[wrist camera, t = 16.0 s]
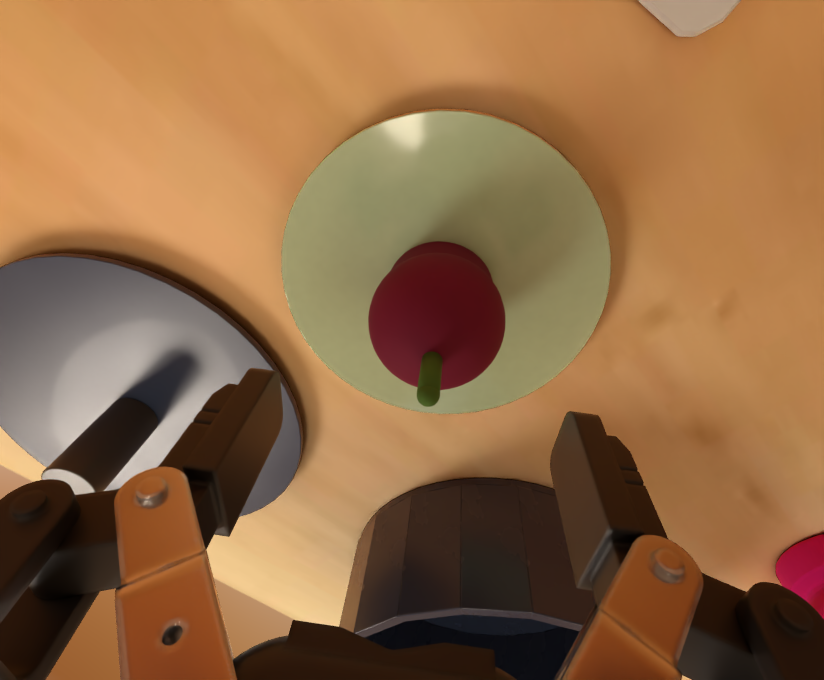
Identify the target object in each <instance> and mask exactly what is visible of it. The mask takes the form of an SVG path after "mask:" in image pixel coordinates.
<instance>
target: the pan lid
mask: <svg viewBox="0 0 824 680" xmlns="http://www.w3.org/2000/svg"><path fill="white" fill-rule="evenodd" d="M250 368H257V369H265V370H272V371H278V372H279V374H280V381H281V393H282V405H283V421H282V426H281V430H280V433H279V435H278V437H277V439H276V441H275V443H274V445H273V447H272V449H271V452H270V454H269V456H268V458H267V460H266V462H265V464H264V466H263V468H262V470H261V472H260V474H259V476H258V478H257V480H256V483H255V485H254V487H253V489H252V491H251V493H250V495H249V497H248V499H247V501H246V503H245V505H244V507H243V509H242V511H241V514H240V516H243V515H247V514H250V513H252V512H254V511H257V510H259V509H261V508H263V507H265V506H266V505H268V504H269V503H271V502H272V501H274V500H275V499H276V498H277V497H278V496H279V495H280V494H281V493H283V492H284V491H285V489H286V488H287V486H288V485H289V484H290V482H291V481H292V479H293V477H294V475H295V473H296V470H297V468H298V466H299V463H300V459H301V454H302V450H303V431H302V424H301V418H300V414H299V411H298V408H297V405H296V401H295V399H294V397H293V395H292V393H291V390H290V388H289V386H288V384H287V382H286V380H285V379H284V377H283V376H282V374H281V373H280V371H279V369H278V368H277V366H276V365H275V363H274V362H273V361H272V360H271V358H270V357H269V356H268V355H267V353H266V352H265V351H264V350H263V348H262V347H261V346H260V345H259V344H258V343H257V342H256V341H255V340H254V339H253V338H252V337H251V336H250V335H249V334H248V333H247V332H246V331H245V330H244V329H243V328H242V327H241V326H240V325H239V324H238V323H236V322H235V321H234V320H233V319H231V318H230V317H229V316H228V315H226V314H225V313H224V312H223V311H222V310H220V309H219V308H217V307H216V306H215V305H213V304H212V303H210V302H209V301H207V300H206V299H204V298H203V297H201V296H200V295H198V294H197V293H195V292H193V291H191V290H189V289H187V288H185V287H184V286H182V285H180V284H178V283H176V282H174V281H173V280H171V279H168V278H166V277H164V276H161V275H159V274H156V273H154V272H152V271H149V270H147V269H145V268H141V267H138V266H135V265H132V264H128V263H125V262H122V261H119V260H115V259H109V258H104V257H99V256H94V255H85V254H71V253H57V254H42V255H36V256H32V257H28V258H23V259H19V260H17V261H14V262H12V263H10V264H7V265H5V266H3V267H0V427H1V428H2V429H3V430H4V431H5V432H6V433H7V434H8V435H9V436H10V437H11V438H12V439H13V440H14V441H15V442H16V443H17V444H18V445H19V446H20V447H22V448H23V449H24V450H25V451H26V452H27V453H28V454H30V455H31V456H32V457H33V458H35V459H36V460H37V461H39V462H40V463H41V464H42V465H44V466H45V467H47V468H46V469H45V470H44V471H43V473H42V476H41V477H42V480H47V479H56V480H62V481H64V482H66V483H68V484H69V485H70V486H71V488H72V490H73V492H74V494H75V495H78V494H86V493H93V492H101V491H109V490H115V489H120V488H121V487H122V486H123V484H124V483H125V482H127V481H128V480H129V479H130V478H132V477H133V476H135V475H136V474H139V473H141V472H143V471H145V470H148V469H152V468H156V467H158V466H159V465H160V464H161V462H162V461H163V460H164V458H165V457H166V456H167V454H168V453H169V452H170V450H171V449H172V448H173V446H174V445H175V444H176V442H177V441H178V440H179V438H180V437H181V435H182V434H183V433H184V431H185V430H186V429H187V427H188V426H189V425H190V423H191V422H192V423H193V419H194V418H195V417H196V415H197V414H198V413H199V411H201V410H202V407H203V406H204V404H205V403H206V402H207V400H208V399H209V398H210V396H211V395H212V394H213V393H215V392H216V391H218V390H219V389H221V388H222V387H224V386H225V385H227V384H228V383H230V384H237V385H238V384H239V382H240V381H241V379H242V378H243V376H244V375H245V374H246V372H247V371H248V370H249V369H250ZM240 516H239V517H240Z"/></svg>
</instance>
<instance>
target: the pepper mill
mask: <svg viewBox="0 0 824 680" xmlns="http://www.w3.org/2000/svg"><path fill="white" fill-rule="evenodd" d="M776 576H777V577H778V579H779V581H780V583H781V584H782V586H783V587H785V588H787V589H789V590H791V591H793V592H794V593H796V594H797V595H799V596H800V597H802V598H803V599H804V600H806V601H807V602H808V603H809V604H810V605H811V606H812V607H813V608H814V609H815V610H816V611H817V612H818V613H819V614H820V615H821V616H822V618H823V619H824V534H822V535H818V536H815V537H812V538H809V539H806V540H804V541H802V542H799V543H798V544H796V545H794V546H792V547H790V548H789V549H788V550H786V551H785V552H784V553H783V554H782V555H781V557H780V558H779V560H778V562H777V563H776Z"/></svg>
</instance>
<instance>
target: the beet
mask: <svg viewBox="0 0 824 680" xmlns="http://www.w3.org/2000/svg"><path fill="white" fill-rule="evenodd" d="M505 322H506V318H505V309H504V305H503V301H502V298H501V295H500V293H499V291H498V289H497V287H496V286H495V284H494V283H493V280H492V277H491V274H490V272H489V270H488V268H487V266H486V265H485V263H484V262H483V261H482V260H481V258H480V257H479V256H477V255H476V254H475V253H474V252H472V251H471V250H469V249H468V248H465V247H463V246H461V245H458V244H455V243H450V242H442V241H437V242H428V243H424V244H421V245H418V246H416V247H414V248H412V249H410V250H408V251H407V252H405V253H404V254H403V255H402V256H401V257H400V258H399V259H398V260H397V261H396V263H395V264H394V266H393V267H392V269H391V271H390V272H389V273H388V274H387V275H386V276H385V277H384V278H383V280H382V281H381V283H380V284H379V286H378V287H377V289H376V291H375V293H374V295H373V298H372V301H371V305H370V309H369V316H368V325H369V334H370V339H371V342H372V345H373V348H374V350H375V352H376V354H377V356H378V357H379V359H380V360H381V362H382V363H383V365H384V366H385V367H386V368H387V369H388V370H389V371H390V372H391V373H392V374H393V375H395V376H396V377H397V378H399V379H400V380H402V381H404V382H405V383H407V384H410V385H412V386H415V387H417V400H418V402H419V403H420V404H421V405H423V406H426V407H431V406H434V405H435V404H436V403H437V402H438V401H439V398H440V390H446V389H451V388H456V387H459V386H461V385H464V384H466V383H468V382H470V381H472V380H473V379H475V378H477V377H478V376H479V375H480V374H482V373H483V372H484V371H485V370H486V369H487V368H488V367H489V365H490V364H491V363H492V362H493V360H494V359H495V357H496V355H497V354H498V352H499V350H500V348H501V345H502V342H503V338H504V333H505Z"/></svg>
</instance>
